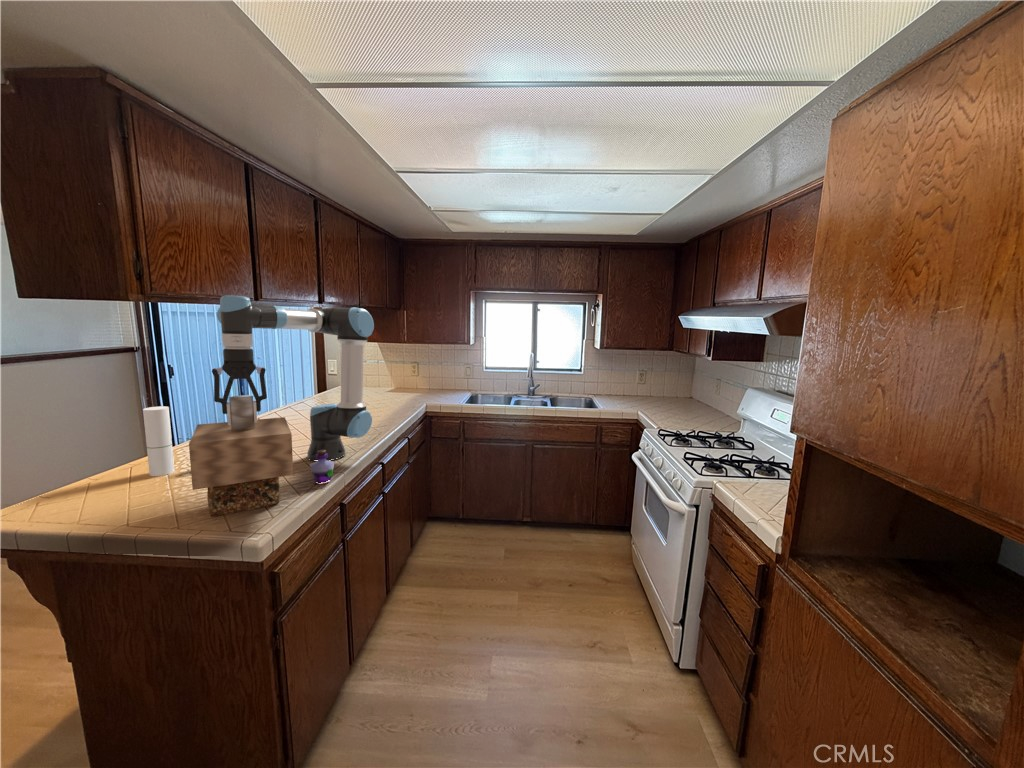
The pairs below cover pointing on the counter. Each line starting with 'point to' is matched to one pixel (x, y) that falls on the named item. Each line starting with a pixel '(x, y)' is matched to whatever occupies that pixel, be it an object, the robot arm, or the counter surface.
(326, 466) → the potion bottle
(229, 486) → the bread
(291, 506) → the counter surface
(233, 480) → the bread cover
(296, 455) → the counter surface
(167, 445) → the cylindrical container
